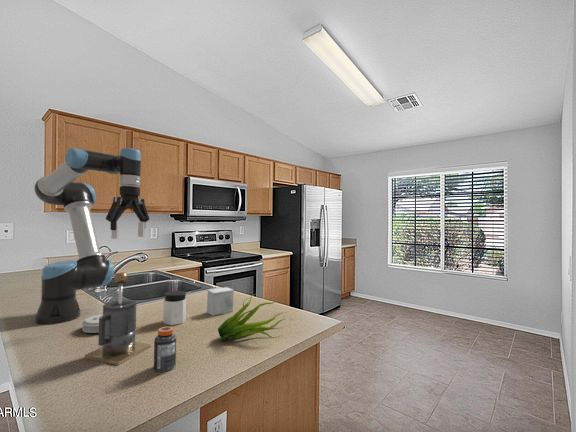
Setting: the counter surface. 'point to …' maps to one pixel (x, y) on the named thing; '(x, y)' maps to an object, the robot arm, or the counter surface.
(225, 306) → the skincare box
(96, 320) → the white round disc
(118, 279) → the plunger
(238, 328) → the decorative plant
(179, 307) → the jar
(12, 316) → the counter surface
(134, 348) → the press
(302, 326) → the counter surface
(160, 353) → the pill bottle
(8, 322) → the counter surface
